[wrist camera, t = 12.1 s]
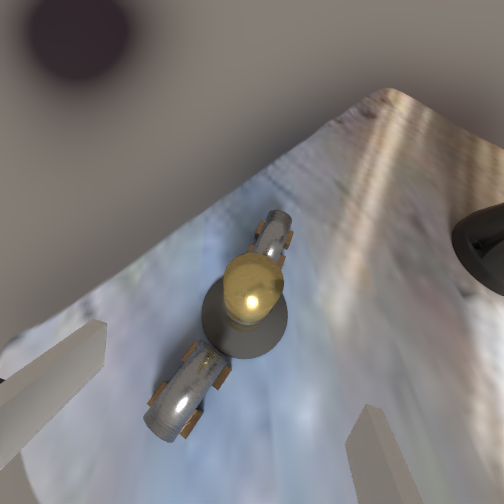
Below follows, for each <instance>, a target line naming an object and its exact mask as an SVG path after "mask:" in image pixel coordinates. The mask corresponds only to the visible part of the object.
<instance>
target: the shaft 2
mask: <svg viewBox="0 0 504 504" xmlns="http://www.w3.org/2000/svg"><path fill="white" fill-rule="evenodd" d="M291 223H292V218H291V217H290V215H289V214H287V213H286V212H284V211H281V210H272V211H270V212H269V213H268V215H267V218H266V220H265V222H264V221H260V224H259V226H258V228H257V231H256V234H255V238H256V239H257V242H256V244H255V245H253V244H251V245H250V247H249V250H248V252H247V253H259V254H262V255H265V256H267V257H269V258H271V259H272V260H273V261H274V262H275V263H276V264H277V265H278V266H279V268H280V270H281V269H282V266H283V263H284V260H285V257H286V256H283V255H281V252H282V249H283V248H284V249H288V247H289V245H290V242H291V239H292V236H293V233H294V232H293V231H290V230H289V229H290V226H291Z"/></svg>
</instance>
